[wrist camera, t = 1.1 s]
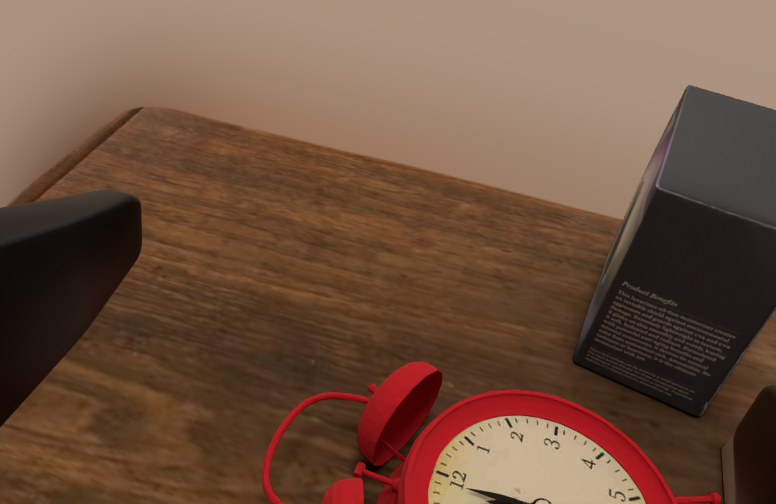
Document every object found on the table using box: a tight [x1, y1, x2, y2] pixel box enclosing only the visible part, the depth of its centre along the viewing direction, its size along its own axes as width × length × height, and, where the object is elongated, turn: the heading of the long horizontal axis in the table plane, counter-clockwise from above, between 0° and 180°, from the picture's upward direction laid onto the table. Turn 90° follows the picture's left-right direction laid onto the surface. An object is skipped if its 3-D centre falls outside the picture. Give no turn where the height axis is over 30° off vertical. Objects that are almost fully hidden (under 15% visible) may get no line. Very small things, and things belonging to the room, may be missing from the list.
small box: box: [573, 85, 776, 416], centre depth 31 cm, size 11×6×10 cm, turn 154°
